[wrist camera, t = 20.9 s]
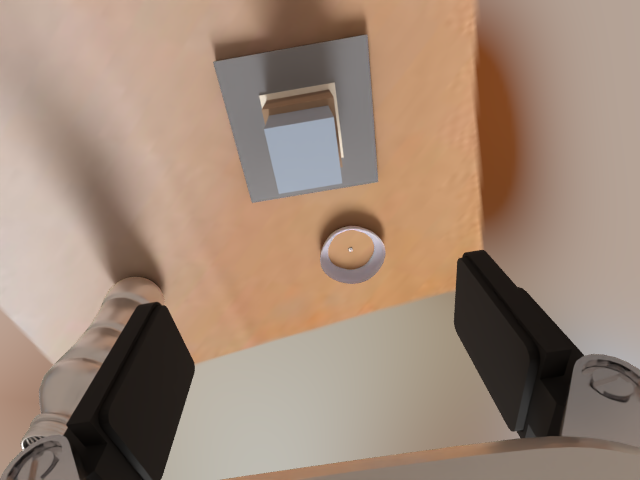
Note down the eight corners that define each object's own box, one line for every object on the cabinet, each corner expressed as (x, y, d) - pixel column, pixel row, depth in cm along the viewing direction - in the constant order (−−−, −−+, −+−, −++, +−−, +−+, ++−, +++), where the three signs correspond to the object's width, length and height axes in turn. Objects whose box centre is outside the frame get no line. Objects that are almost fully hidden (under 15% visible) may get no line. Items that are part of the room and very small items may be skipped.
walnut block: (266, 100, 33) (261, 109, 29) (328, 89, 33) (333, 97, 29) (279, 161, 36) (277, 178, 32) (337, 151, 36) (342, 167, 32)
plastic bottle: (136, 316, 47) (41, 478, 30) (104, 278, 44) (-23, 435, 26) (179, 302, 46) (108, 460, 29) (150, 262, 43) (50, 414, 26)
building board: (215, 61, 32) (212, 61, 31) (365, 34, 32) (367, 34, 31) (253, 198, 39) (251, 203, 38) (375, 178, 39) (378, 182, 38)
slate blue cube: (268, 115, 29) (264, 129, 25) (328, 105, 29) (333, 117, 25) (281, 172, 32) (278, 194, 27) (336, 163, 31) (342, 183, 27)
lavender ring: (309, 235, 43) (309, 243, 41) (370, 211, 41) (373, 218, 40) (332, 283, 46) (334, 292, 45) (390, 262, 45) (393, 270, 44)
